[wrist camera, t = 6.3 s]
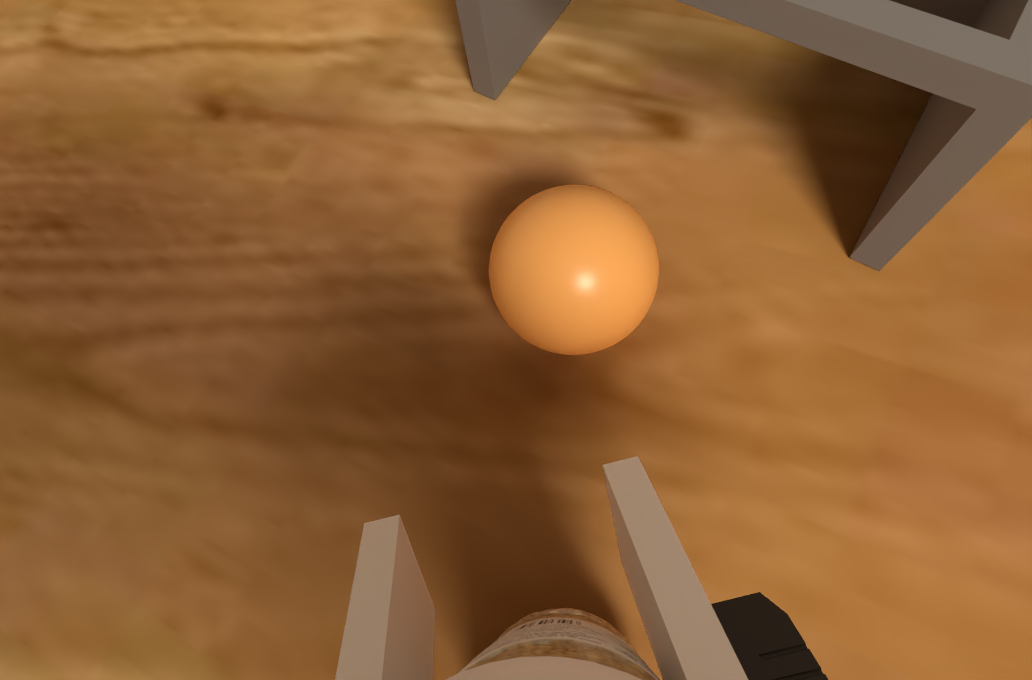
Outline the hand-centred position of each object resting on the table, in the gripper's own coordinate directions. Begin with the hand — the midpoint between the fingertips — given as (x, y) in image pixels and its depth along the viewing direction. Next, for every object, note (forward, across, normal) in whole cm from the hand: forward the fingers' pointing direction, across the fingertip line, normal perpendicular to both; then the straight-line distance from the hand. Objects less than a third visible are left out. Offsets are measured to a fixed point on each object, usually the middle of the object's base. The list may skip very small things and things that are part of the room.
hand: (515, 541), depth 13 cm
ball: (+7, +3, +3) cm, 8 cm away
